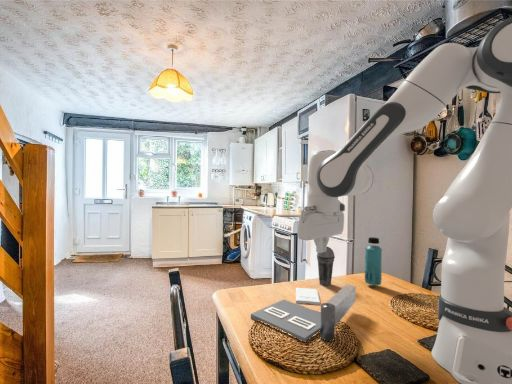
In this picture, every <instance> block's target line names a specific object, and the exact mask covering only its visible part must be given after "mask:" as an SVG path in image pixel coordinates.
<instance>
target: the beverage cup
mask: <svg viewBox="0 0 512 384" xmlns="http://www.w3.org/2000/svg"><path fill="white" fill-rule="evenodd" d="M335 258H336V257H335V252H334V250H333V249H332V248H331V247H330V246H327V250H326V252H322V253H318V252H316V260H317V267H318V282H319V285H320V286H323V287H329V286H331V285H332V283H331V282H332V279H333V270H334V269H333V267H334V261H335Z"/></svg>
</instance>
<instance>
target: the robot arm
mask: <svg viewBox="0 0 512 384" xmlns="http://www.w3.org/2000/svg"><path fill="white" fill-rule="evenodd" d="M465 88H466V89H468V90H473V91H479V92H483V93H487V94H500V96H501V99H500V103H499V106H498V109H497V110H496V113H495V114H494V116H493V118H491V121H490V123H489V125H488V126H487V128H486V130H485V132H484V134H483V136H482V137H481V139H480V140H479V142H478V145H477V146H476V148H475V150H474V152H473V154H472V155H471V157H470V158H469V160H468V161H467V163H466V164H465V165H464V167H463V168H462V169H461V170H460V172H459V173H458V174H457V176H456V177H455V178H454V179H453V180H452V182H451V183H450V185H449V187H448V188H447V190H446V191H445V193H444V194H443V196H442V197H441V198H440V199H439V200H438V202H436V204H435V206H434V207H433V210H432V221H433V223H434V226H435V227H436V229H437V230H438V231H439V232H440V233H441V234H442V235H444V236H446V237H447V241H446V245H445V251H444V255H443V257H442V259H441V282H440V283H441V284H440V295H438V300H437V315H438V321H439V322H438V328H437V333H436V338H435V342H434V345H433V347H432V349H431V357H432V359H434V361H435V363H437V364H438V365H439V366H441V368H443V369H444V370H446V371H447V372H448V373H450V374H451V375H452V377H453V378H454V379H455V381H457V382H458V383H459V384H512V310H509V309H508V308H507V307H505V306H504V305H505V270H506V262H507V253H508V245H509V244H508V243H509V231H510V219H511V217H510V216H511V213H510V211H511V210H512V16H511V17H509V18H507V19H504V20H502V21H501V22H499V23H498V24H496V25H495V26H494V27H493V28H491V29H490V30H489V31H488V32H487V34H485V36H484V37H483V38H482V39H481V41H480V43H479V44H478V46H475V47H467V46H464V45H463V44H460V43H456V42H447V43H443V44H441V45H438V46H437V47H435V48H434V49H433V50H432V51H431V52H430V53H429V54H428V55H427V56H426V57H424V58H423V60H421V61H420V62H419V63H418V64H417V65H416V66H415V68H414V69H413V70H412V71H410V73H409V74H408V76H407V77H406V78H404V81H403V82H401V84H400V85H399V86H398V87H397V89H396V90H395V91H394V92H393V94H392V95H391V96H390V97H389V98H388V100H387V101H386V102H384V103H383V105H382V106H381V107H379V108H378V109H377V110H376V111H375V112H374V113H373V114H372V115H370V117H369V118H368V119H367V120H366V121H365V123H364V124H363V125H362V126H361V127H360V128H359V129H358V130H357V132H356V133H355V134H353V135H352V136H351V137H350V139H349V140H348V141H347V142H346V143H345V144H344V145H343V146H342V147H341V148H340V149H339V150H338V151H335V150H331V149H330V150H329V149H328V150H320V151H317V152H314V154H312V155H311V157H310V159H309V163H308V174H307V176H308V178H307V182H308V183H307V184H308V192H307V206H304V208H303V209H302V210H301V213H300V214H299V218H298V225H297V237H298V239H299V240H302V241H312V240H313V242H314V245H315V246H316V247H315V249H316V250H315V251H316V253H322V252H326V250H327V247H328V244H329V241H330V237H334V236H339V235H342V234H343V231H344V228H345V226H344V225H345V215H344V214H345V213H344V212H345V211H346V205H345V204H344V203H343V202H341V200H339V197H344V196H345V197H346V196H347V197H351V196H360V195H363V194H365V193H367V192H368V191H369V190H370V189H371V188H372V186H373V183H374V174H373V171H372V169H371V168H370V167H369V166H368V165H367V164H365V163H366V162H367V161H368V160H369V159H370V158H371V157H372V156H373V155H374V153H376V152H377V151H378V150H379V149H380V148H381V147H382V146H383V145H384V144H385V142H387V141H388V140H391V138H393V137H396V136H398V135H400V134H404V133H409V132H414V131H418V130H421V129H423V128H424V127H426V125H429V123H430V122H432V121H433V120H434V119H435V118H436V117H437V116H438V115H439V114H440V113H441V112H442V111H443V110H444V109H445V108H446V107H447V105H448V104H450V102H451V101H452V100H453V99H454V98H455V97H456V96H457V95H458V94H459V93H460V92H461V91H462V90H463V89H465Z"/></svg>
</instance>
